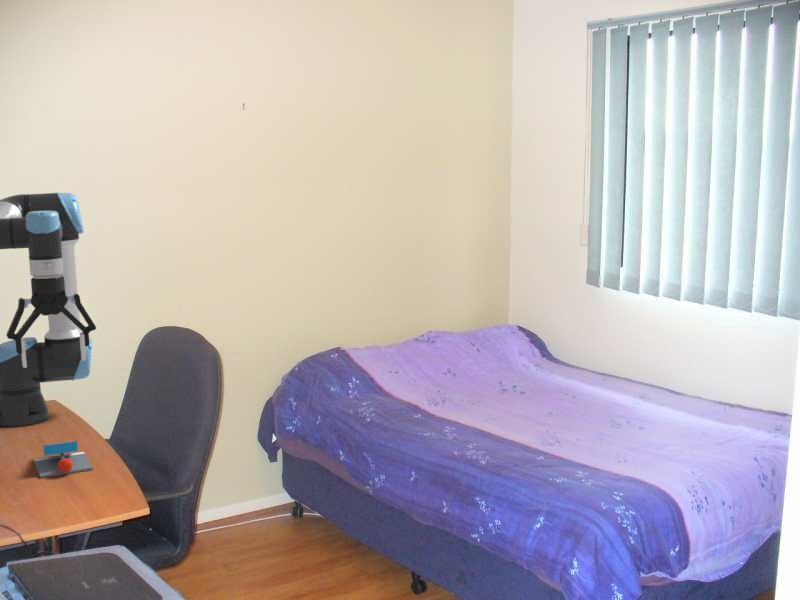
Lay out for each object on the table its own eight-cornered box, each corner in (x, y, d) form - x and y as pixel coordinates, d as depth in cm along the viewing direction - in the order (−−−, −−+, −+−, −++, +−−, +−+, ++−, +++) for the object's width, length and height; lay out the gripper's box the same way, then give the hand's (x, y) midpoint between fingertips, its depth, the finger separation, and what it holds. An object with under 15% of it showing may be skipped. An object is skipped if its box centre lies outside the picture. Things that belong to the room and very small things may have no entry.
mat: (34, 461, 245) (33, 459, 245) (84, 454, 250) (83, 451, 250) (40, 478, 233) (40, 475, 232) (92, 469, 238) (92, 467, 238)
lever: (45, 473, 248) (51, 474, 231) (43, 445, 248) (48, 445, 232) (74, 468, 250) (81, 470, 234) (71, 441, 251) (78, 440, 235)
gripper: (-8, 282, 225) (0, 372, 229) (103, 273, 236) (110, 359, 240) (-11, 278, 232) (-2, 366, 236) (98, 270, 243) (104, 353, 246)
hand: (54, 363), depth 238 cm, fingers open, 13 cm apart
